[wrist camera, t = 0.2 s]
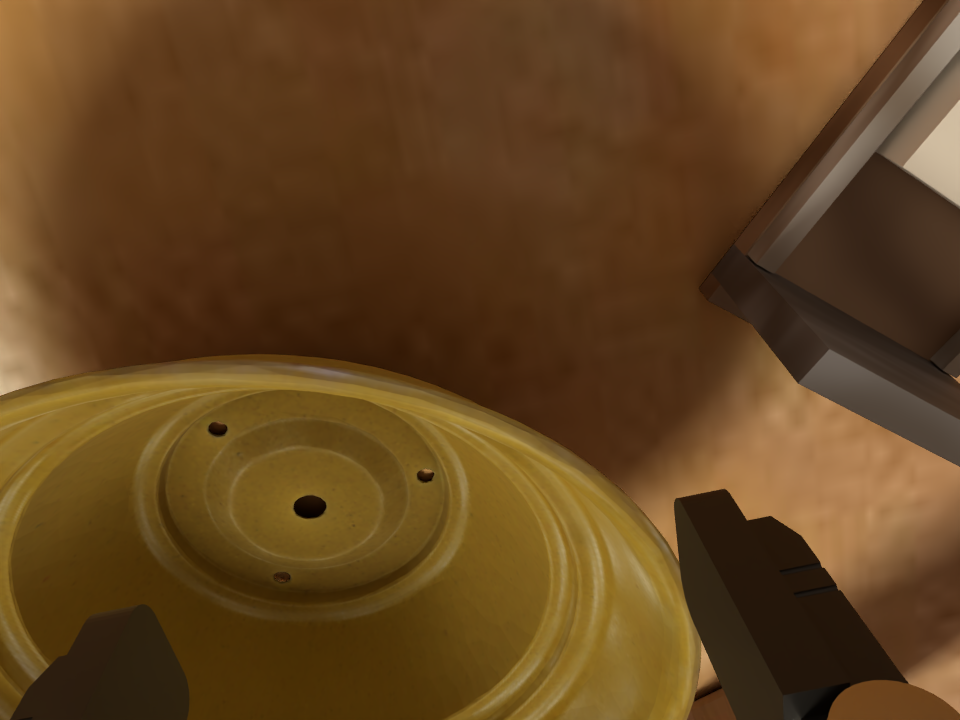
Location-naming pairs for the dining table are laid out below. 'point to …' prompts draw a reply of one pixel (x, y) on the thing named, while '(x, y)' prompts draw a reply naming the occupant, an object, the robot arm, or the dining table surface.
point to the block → (712, 708)
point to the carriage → (931, 136)
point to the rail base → (863, 257)
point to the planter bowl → (333, 548)
